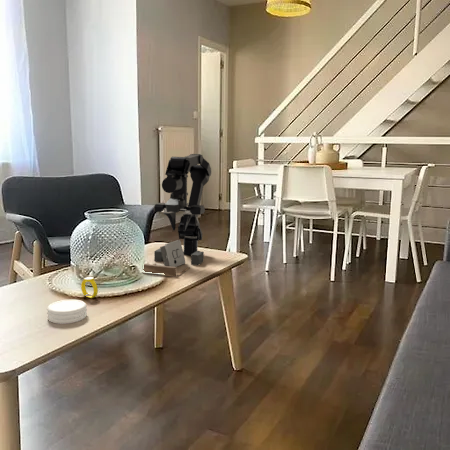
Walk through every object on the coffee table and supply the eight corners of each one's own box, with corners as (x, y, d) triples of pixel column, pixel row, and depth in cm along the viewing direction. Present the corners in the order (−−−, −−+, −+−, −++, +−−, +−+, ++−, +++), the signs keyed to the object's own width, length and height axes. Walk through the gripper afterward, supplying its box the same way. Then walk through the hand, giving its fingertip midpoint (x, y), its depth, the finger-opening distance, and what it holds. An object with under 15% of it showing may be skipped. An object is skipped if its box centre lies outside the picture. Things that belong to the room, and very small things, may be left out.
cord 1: (160, 257, 194) (160, 247, 193) (167, 258, 193) (167, 248, 192) (154, 261, 188) (154, 251, 187) (161, 262, 187) (161, 251, 186)
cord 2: (196, 261, 190) (196, 251, 189) (203, 261, 189) (203, 251, 188) (191, 264, 184) (191, 254, 183) (198, 265, 183) (198, 255, 183)
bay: (153, 264, 183) (153, 256, 183) (190, 267, 179) (190, 259, 179) (139, 272, 172) (139, 264, 171) (177, 276, 168) (177, 268, 167)
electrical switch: (172, 269, 177) (170, 244, 176) (160, 268, 180) (158, 243, 178) (186, 263, 185) (184, 239, 184) (174, 263, 188) (172, 239, 187)
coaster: (73, 308, 137) (72, 296, 136) (94, 317, 130) (94, 304, 130) (40, 318, 129) (39, 305, 128) (61, 327, 123) (60, 314, 122)
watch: (79, 297, 146) (78, 277, 145) (87, 294, 148) (85, 275, 148) (92, 300, 143) (91, 280, 142) (100, 297, 145) (98, 278, 144)
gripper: (147, 191, 178) (147, 232, 181) (195, 193, 173) (195, 236, 176) (159, 188, 189) (159, 227, 192) (205, 190, 184) (204, 231, 187)
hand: (179, 230), depth 186 cm, fingers open, 4 cm apart
